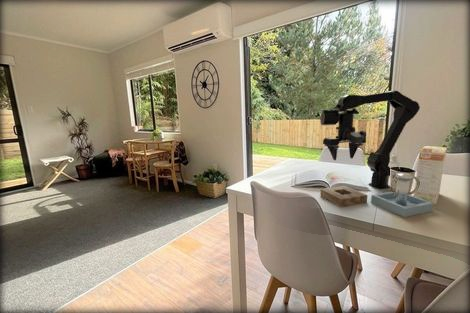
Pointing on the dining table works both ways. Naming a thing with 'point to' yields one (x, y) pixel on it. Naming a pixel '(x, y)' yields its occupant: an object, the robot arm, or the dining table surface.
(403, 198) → the clear glass cylinder
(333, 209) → the dining table surface
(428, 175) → the coffeecake box
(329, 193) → the socket block
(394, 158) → the eye dropper bottle
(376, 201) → the tray
